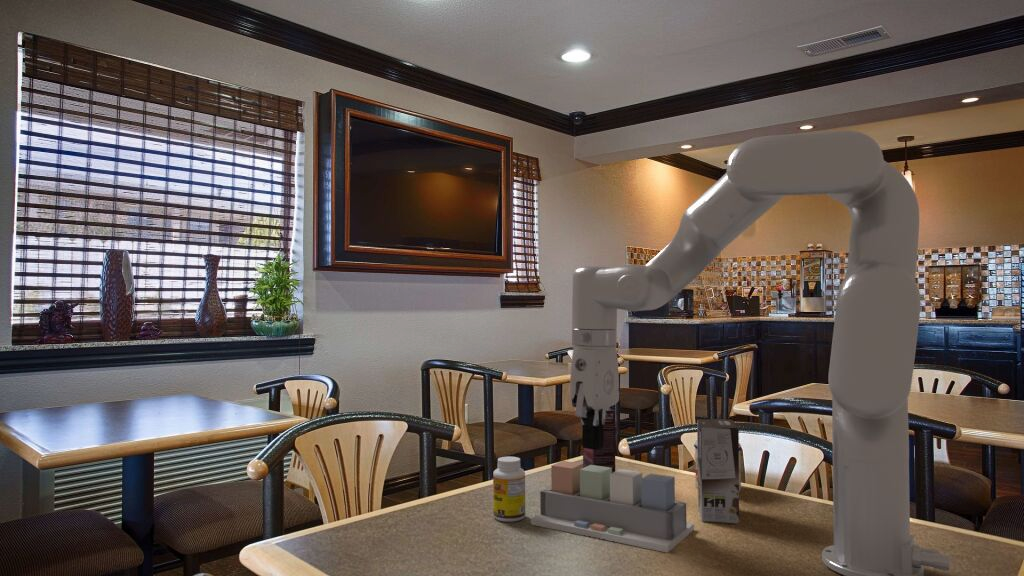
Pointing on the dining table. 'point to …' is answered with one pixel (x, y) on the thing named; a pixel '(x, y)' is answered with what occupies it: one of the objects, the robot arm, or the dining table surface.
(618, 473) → the key
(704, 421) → the coffee box
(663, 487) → the blue-grey block
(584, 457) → the supplement box
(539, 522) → the grey block holder
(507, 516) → the supplement bottle
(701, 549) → the dining table surface
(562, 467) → the pink block
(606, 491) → the key
